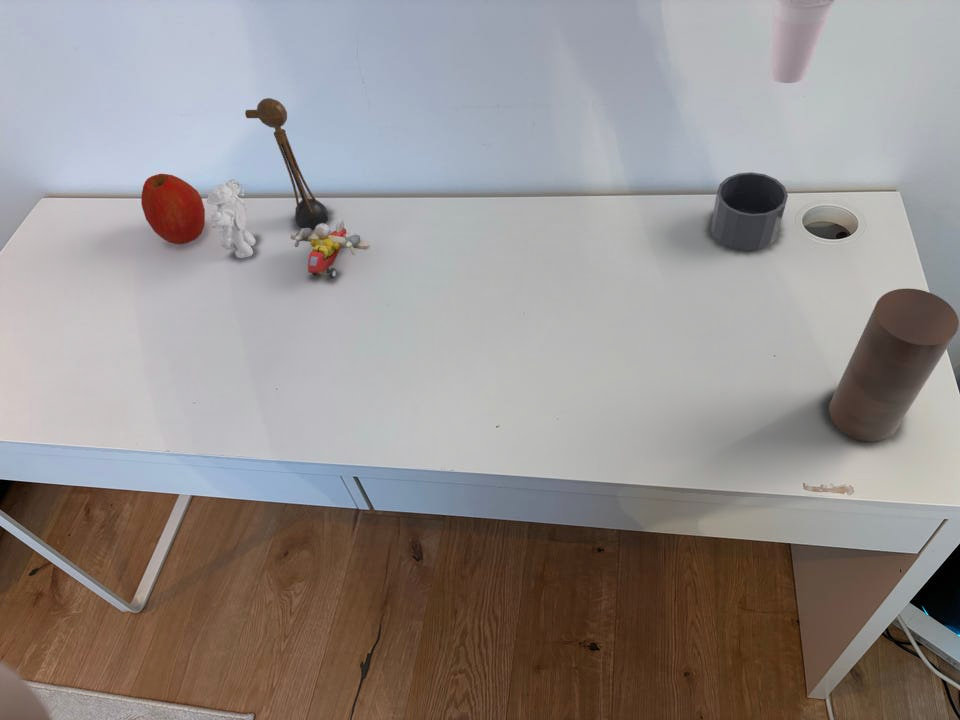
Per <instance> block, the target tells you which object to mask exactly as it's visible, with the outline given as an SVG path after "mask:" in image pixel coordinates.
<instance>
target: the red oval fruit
mask: <svg viewBox="0 0 960 720" xmlns="http://www.w3.org/2000/svg"><path fill="white" fill-rule="evenodd" d="M140 201H141V208H142V211H143V214H144V217H145V220H146V222H147V224H149V226H150V227H151V229H152V230H153V232H154V233H155V234H156V235H157V236H159V237H160V239H161V238H162V239H163V240H164V241H166V242H167V243H171V244H174V245H184V244H188V243H191V242H193V241H195V240H196V239H198V238H199V237H200V236H201V235H202V233H203V231H204V228H205V223H206V218H205V217H206V211H205V210H206V209H205V205H204V202H203V199H202V195H200V193H199V191H198V189H196V188H195V187H194V186H192V185H191V184H190V183H189V182H187V181H185V180H184V179H182V178H180V177H178V176H176V175H173V174H169V173H158V174H154V175H151V176H149V177H148V178H146V180H145V181H144V183H143V186H142V190H141V200H140Z"/></svg>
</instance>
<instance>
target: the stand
mask: <svg viewBox="0 0 960 720" xmlns="http://www.w3.org/2000/svg"><path fill="white" fill-rule="evenodd" d="M875 303H876V304H875V306H874V308H873V310H872V312H871V314H870V316H869V318H868V320H867V323H866V324H865V327H864V329H863V331H862V333H861V335H860V337H859V340H858V341H857V344H856V346H855V348H854V350H853V352H852V355H851V357H850V359H849V361H848V363H847V365H846V368H845V369H844V372H843V374H842V376H841V378H840V381H839V383H838V385H837V387H836V389H835V391H834V393H833V396H832V398H831V400H830V402H829V406H828V415H829V418H830V419H831V421H832V423H833V425H834V426H835V427H836V428H837V429H838V430H839V431H840V432H842V433H843V434H845V435H846V436H848V437H849V438H852V439H855V440H858V441H861V442H868V443H876V442H881V441H884V440H886V439H888V438H890V437H891V436H893V435H894V433H895V432H896V431H897V430H898V427H899V426H900V424H901V423H902V421H903V419H904V418H905V416H906V415H907V413H908V412H909V410H910V409H911V406H912V405H913V404H914V402H915V401H916V399H917V398H918V395H919V394H920V393H921V391H922V389H923V388H924V386H925V384H927V383H926V382H927V381H928V380H929V378H930V376H931V374H932V373H933V372H934V370H935V368H936V367H937V365H938V363H940V360H941V359H942V357H943V355H944V354H945V352H946V351H947V350H948V348H949V346H950V344H952V343H951V342H952V341H953V339H954V338H955V336H956V335H957V333H958V331H959V327H960V320H959V316H958V314H957V312H956V311H955V308H953V306H952V305H950V304H949V303H948V302H947V301H946V300H944V299H943V298H942V297H940V296H938V295H936V294H934V293H933V292H929V291H927V290H923V289H917V288H909V287H907V288H897V289H893V290H889V291H888V292H886V293H884V294H883V295H881V297H879V298H878V300H877V301H876V302H875Z"/></svg>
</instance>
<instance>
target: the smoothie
mask: <svg viewBox="0 0 960 720" xmlns="http://www.w3.org/2000/svg"><path fill="white" fill-rule="evenodd" d="M834 4H835V0H773V5H772V23H771V34H770V35H771V37H770V53H769V66H768V67H769V69H768V75H769V77H770V78H771V79H772V80H773V81H775V82H778V83H784V84H793V83H798V82H800V81H803V80H804V79H805V77H806V76H807V72H808V70H809V68H810V65H811V62H812V60H813V57H814V54H815V53H816V50H817V47H818V44H819V42H820V39H821V36H822V34H823V31H824V29H825V26H826V24H827V21H828V19H829V16H830V14H831V11H832V8H833V5H834Z"/></svg>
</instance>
